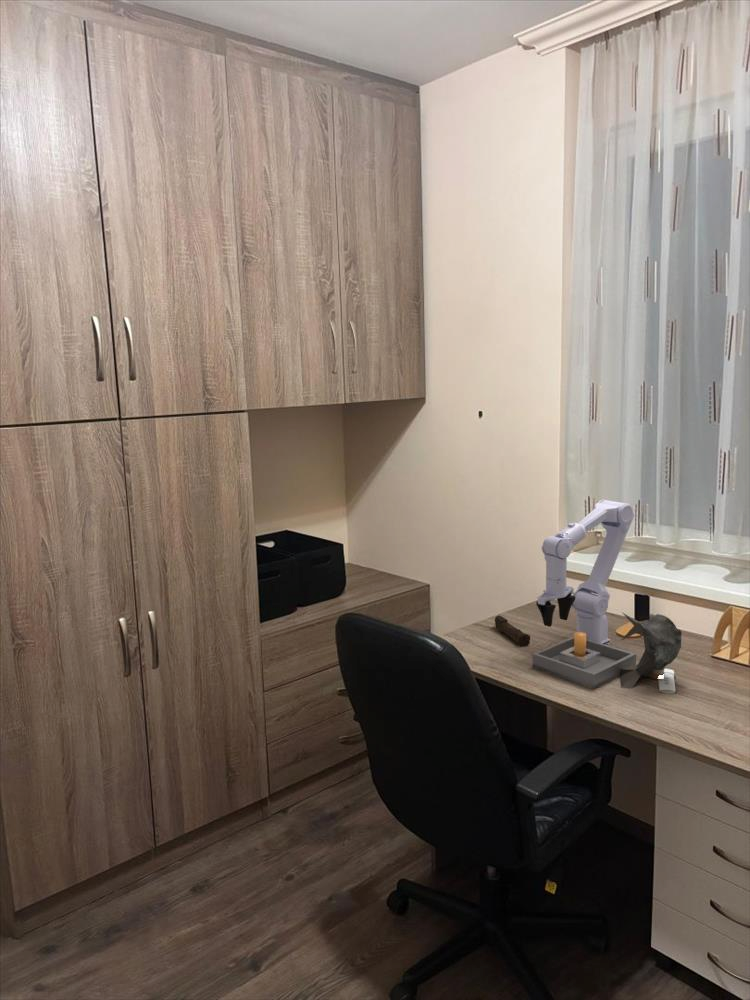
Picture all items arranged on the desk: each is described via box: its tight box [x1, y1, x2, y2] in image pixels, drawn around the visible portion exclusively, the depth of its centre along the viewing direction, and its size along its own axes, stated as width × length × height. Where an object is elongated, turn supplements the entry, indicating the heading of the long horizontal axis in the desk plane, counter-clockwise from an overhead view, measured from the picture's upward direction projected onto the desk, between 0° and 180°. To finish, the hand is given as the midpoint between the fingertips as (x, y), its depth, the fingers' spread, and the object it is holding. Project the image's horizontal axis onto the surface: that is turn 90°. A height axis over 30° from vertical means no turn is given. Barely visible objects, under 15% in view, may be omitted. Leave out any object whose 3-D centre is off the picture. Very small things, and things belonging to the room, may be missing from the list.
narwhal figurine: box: [619, 612, 683, 689], centre depth 200 cm, size 14×15×18 cm
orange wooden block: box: [573, 631, 586, 657], centre depth 212 cm, size 3×3×8 cm
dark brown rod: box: [494, 614, 531, 647], centre depth 236 cm, size 19×4×5 cm, turn 16°
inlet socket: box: [560, 647, 601, 669], centre depth 212 cm, size 8×8×2 cm
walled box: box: [532, 635, 637, 690], centre depth 210 cm, size 20×20×4 cm
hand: (555, 622), depth 220 cm, fingers open, 7 cm apart
